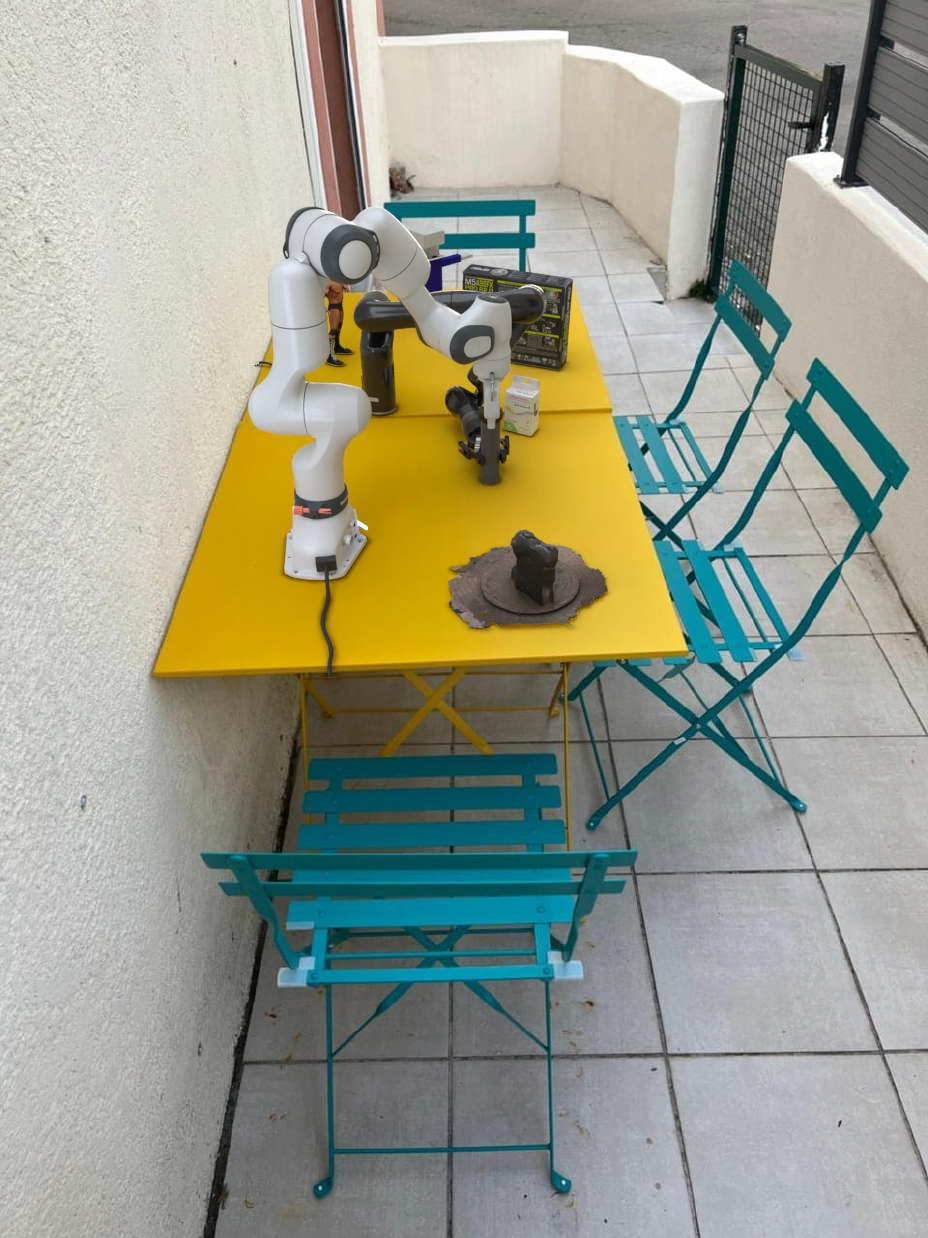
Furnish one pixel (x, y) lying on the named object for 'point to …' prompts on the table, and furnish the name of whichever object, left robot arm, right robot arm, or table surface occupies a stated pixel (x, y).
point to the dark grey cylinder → (490, 453)
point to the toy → (435, 254)
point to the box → (548, 333)
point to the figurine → (335, 320)
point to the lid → (482, 418)
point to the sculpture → (524, 584)
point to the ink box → (522, 406)
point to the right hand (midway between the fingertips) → (492, 461)
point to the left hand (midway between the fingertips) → (490, 418)
